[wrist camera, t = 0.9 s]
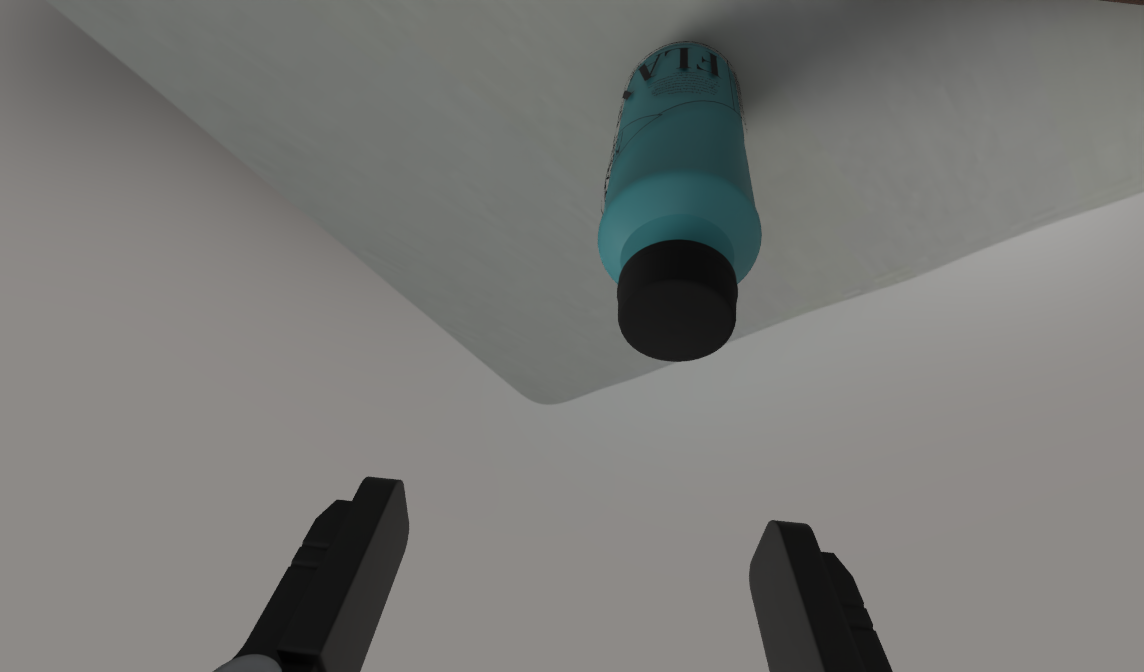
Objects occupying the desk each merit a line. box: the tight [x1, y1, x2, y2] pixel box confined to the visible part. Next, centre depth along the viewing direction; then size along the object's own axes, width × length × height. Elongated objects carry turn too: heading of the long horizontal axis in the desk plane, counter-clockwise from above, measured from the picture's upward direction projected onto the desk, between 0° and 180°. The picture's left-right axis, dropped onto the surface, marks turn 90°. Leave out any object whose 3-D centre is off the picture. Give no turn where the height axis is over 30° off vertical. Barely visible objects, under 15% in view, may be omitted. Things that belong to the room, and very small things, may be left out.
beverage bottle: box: [598, 41, 762, 362], centre depth 24 cm, size 6×7×20 cm
